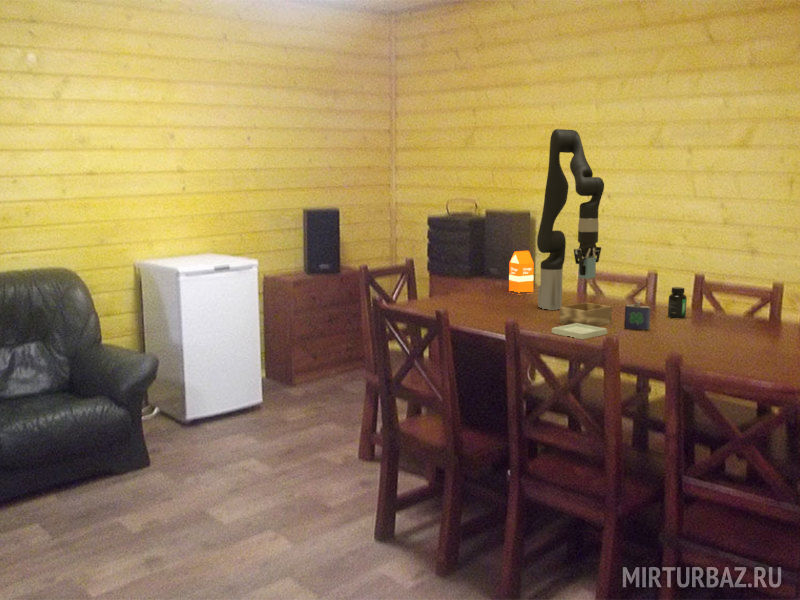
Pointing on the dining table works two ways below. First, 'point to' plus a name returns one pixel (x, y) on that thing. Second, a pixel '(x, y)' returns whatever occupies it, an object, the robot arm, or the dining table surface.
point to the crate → (586, 314)
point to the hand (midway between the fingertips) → (586, 274)
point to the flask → (637, 317)
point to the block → (589, 268)
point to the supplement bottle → (677, 303)
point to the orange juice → (521, 272)
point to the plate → (579, 331)
